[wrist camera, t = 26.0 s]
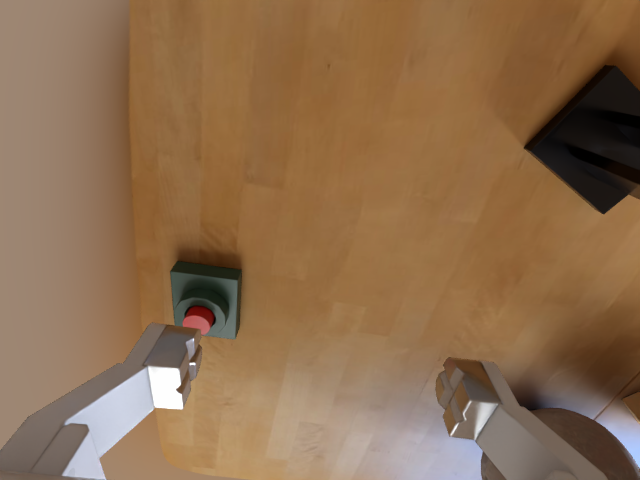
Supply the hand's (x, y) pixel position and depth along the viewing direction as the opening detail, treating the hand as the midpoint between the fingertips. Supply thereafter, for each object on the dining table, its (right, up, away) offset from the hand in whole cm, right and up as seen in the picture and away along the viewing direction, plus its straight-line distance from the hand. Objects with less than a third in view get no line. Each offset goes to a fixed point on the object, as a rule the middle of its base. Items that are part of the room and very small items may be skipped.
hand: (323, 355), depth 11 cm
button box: (-15, -4, +33) cm, 36 cm away
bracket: (+28, +13, +22) cm, 38 cm away
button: (-15, -5, +30) cm, 34 cm away
